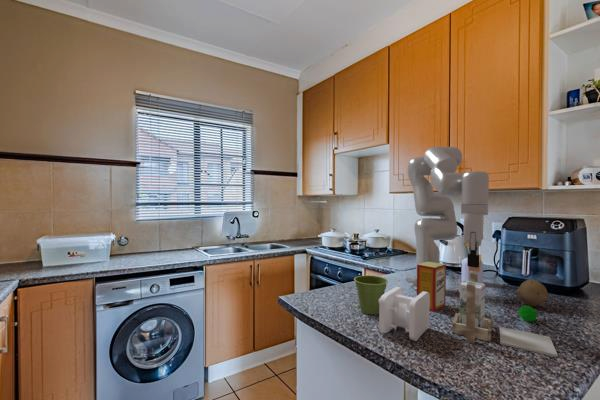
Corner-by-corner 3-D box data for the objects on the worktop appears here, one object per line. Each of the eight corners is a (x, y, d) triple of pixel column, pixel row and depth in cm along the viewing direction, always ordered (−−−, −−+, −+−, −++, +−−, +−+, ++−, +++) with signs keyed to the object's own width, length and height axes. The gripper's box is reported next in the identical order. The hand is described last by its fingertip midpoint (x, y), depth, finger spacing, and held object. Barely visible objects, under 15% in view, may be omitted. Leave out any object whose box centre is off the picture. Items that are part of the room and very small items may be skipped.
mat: (500, 344, 81) (500, 341, 81) (499, 328, 91) (499, 326, 91) (557, 357, 75) (557, 354, 75) (549, 338, 85) (549, 336, 85)
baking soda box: (428, 301, 116) (428, 260, 116) (445, 305, 111) (445, 263, 111) (416, 306, 110) (417, 263, 110) (434, 311, 105) (434, 266, 105)
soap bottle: (487, 285, 139) (487, 233, 139) (467, 285, 139) (468, 233, 139) (476, 280, 147) (476, 231, 148) (457, 280, 148) (458, 231, 148)
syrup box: (485, 331, 90) (485, 283, 90) (480, 337, 85) (481, 287, 85) (464, 325, 94) (464, 279, 94) (458, 331, 89) (459, 283, 89)
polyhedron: (526, 317, 101) (526, 303, 101) (541, 323, 96) (541, 308, 96) (514, 318, 100) (514, 304, 100) (528, 324, 95) (528, 309, 95)
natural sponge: (554, 312, 106) (554, 284, 106) (526, 309, 108) (526, 282, 108) (539, 303, 115) (539, 277, 115) (513, 301, 117) (513, 276, 117)
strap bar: (468, 270, 98) (469, 261, 98) (471, 261, 113) (472, 253, 113) (479, 271, 96) (479, 262, 96) (481, 262, 111) (481, 254, 111)
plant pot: (358, 303, 113) (358, 273, 113) (390, 308, 107) (390, 277, 107) (349, 313, 102) (349, 281, 102) (384, 320, 97) (384, 286, 97)
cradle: (450, 338, 84) (451, 282, 85) (457, 317, 100) (457, 270, 100) (490, 347, 79) (491, 288, 79) (491, 324, 94) (491, 274, 94)
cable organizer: (414, 346, 79) (414, 303, 79) (377, 335, 86) (377, 295, 86) (430, 328, 91) (430, 290, 91) (396, 319, 98) (396, 284, 98)
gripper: (463, 208, 104) (462, 261, 104) (459, 210, 91) (457, 269, 91) (488, 209, 100) (487, 263, 100) (487, 211, 87) (486, 273, 87)
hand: (473, 266), depth 96 cm, fingers closed
